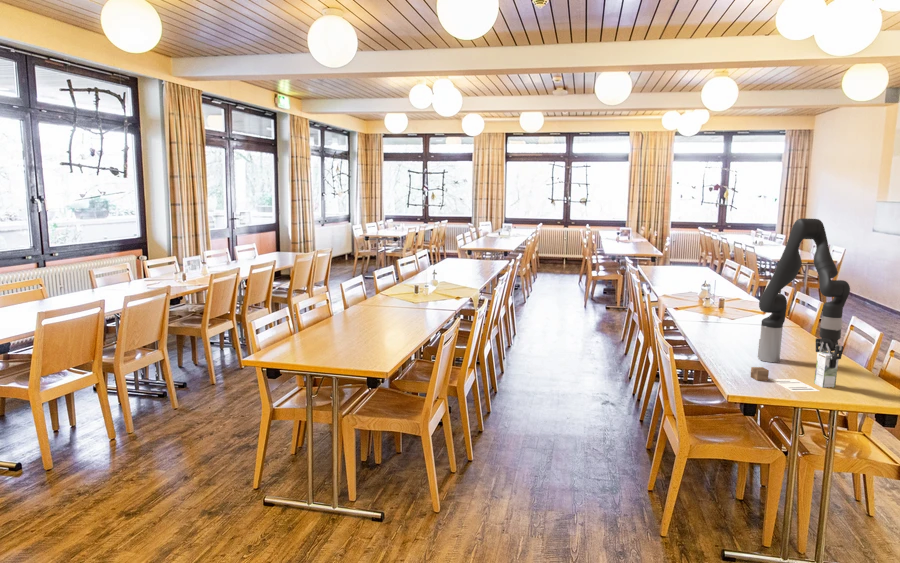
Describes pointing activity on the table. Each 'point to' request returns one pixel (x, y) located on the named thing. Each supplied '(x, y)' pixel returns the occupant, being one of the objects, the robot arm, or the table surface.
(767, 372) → the walnut block
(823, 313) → the robot arm
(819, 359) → the syrup box
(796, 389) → the letter
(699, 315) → the table surface
